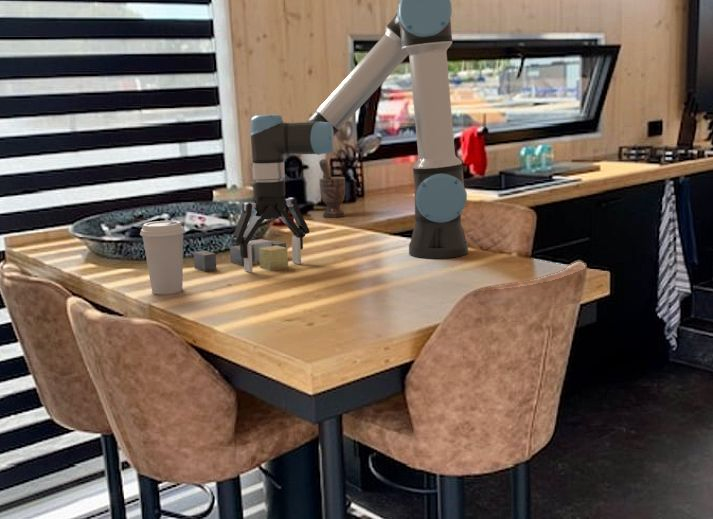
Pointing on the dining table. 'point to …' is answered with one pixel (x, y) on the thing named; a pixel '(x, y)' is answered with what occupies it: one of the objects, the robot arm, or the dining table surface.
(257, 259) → the light gray cube
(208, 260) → the dark grey cubes
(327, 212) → the mortar and pestle
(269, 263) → the yellow cube
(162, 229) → the coffee cup
